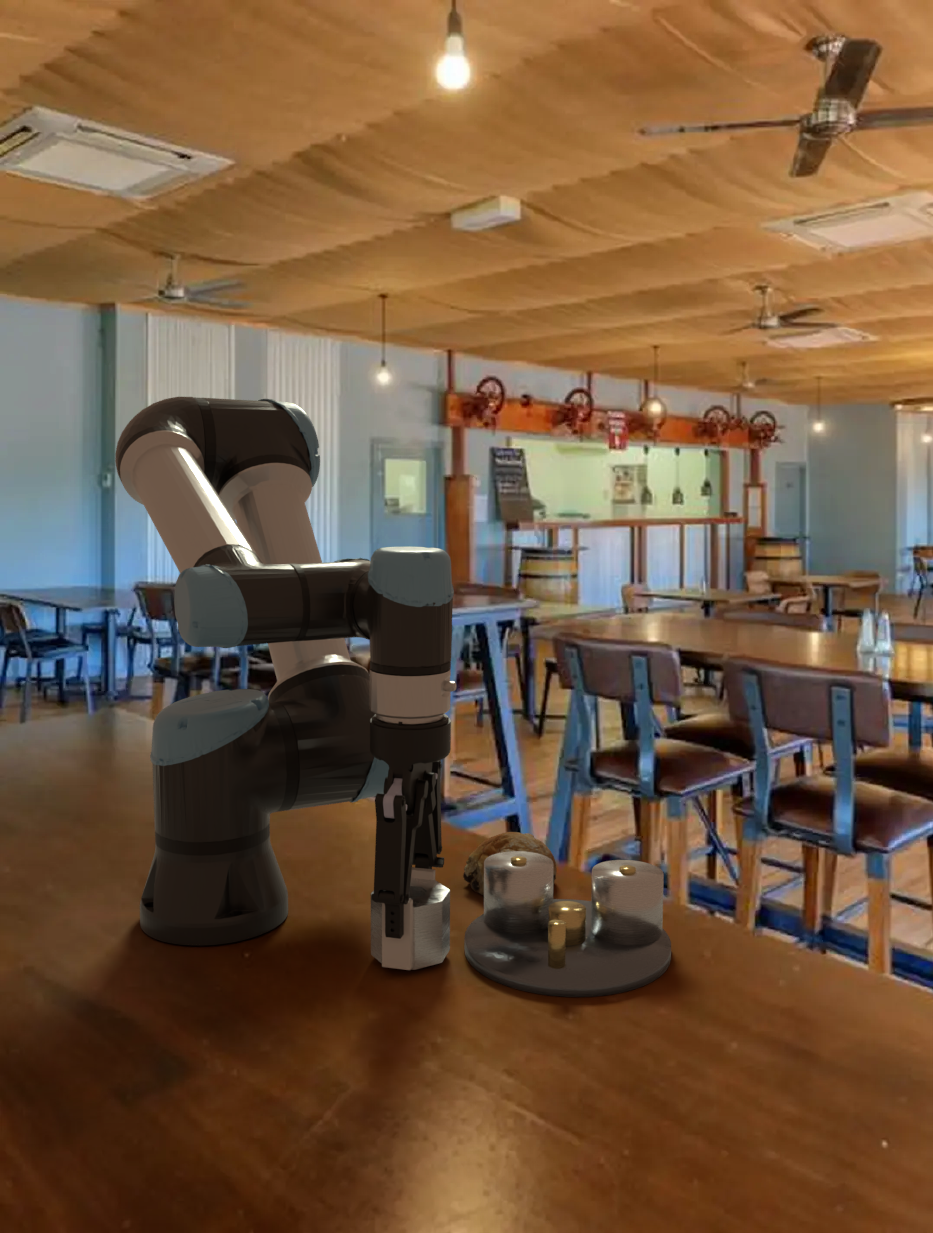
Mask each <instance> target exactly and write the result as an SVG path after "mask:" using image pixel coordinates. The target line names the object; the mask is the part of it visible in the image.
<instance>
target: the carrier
mask: <svg viewBox="0 0 933 1233" xmlns="http://www.w3.org/2000/svg"><path fill="white" fill-rule="evenodd" d="M664 876H665V875H664V871H663V870H662V869H661V868H660V867H659V866H656V865H654V864H652V863H649V862H645V861H639V860H632V859H613V860H606V861H602V862H599V863H597V864H595V865H594V866H593V867H592V868H591V890H590V891H591V895H590V896H591V900H586V899H585V900H584V899H583V900H582V899H572V898H571V899H570V898H569V899H567V898H554V885H553V861H552V860H551V859H550V858H548V857H547V856H544V855H541V854H538V853H533V852H525V851H510V852H502V853H497V854H494V855H491V856H489V857H487V858H486V859H485V861H484V895H483V914H480V915H479V916H477V917H476V918H475V919H474V920H472V921H471V922H470V924H469V925H467V928H466V930H465V933H464V955H465V958H466V959H467V961H468V962H469V964H470V965H471V967H472V968H474V969H475V970H476V971H477V972H478V973H480V974H481V975H483V976H484V977H486V978H487V979H489V980H492V981H493V982H496V983H498V984H499V985H503V986H506V987H508V988H511V989H515V990H518V991H523V992H528V993H532V994H537V995H542V996H543V995H545V996H552V997H563V998H564V997H565V998H590V997H591V998H592V997H602V996H610V995H615V994H622V993H626V992H630V991H633V990H636V989H639V988H641V987H645V986H647V985H648V984H651V983H653V982H655V981H656V980H657V979H659V978H660V977H661V976H663V974H665V973H666V971H667V970H668V968H669V966H670V964H671V961H672V941H671V938H670V936H669V935H668V933H667V932H666V930H665V929H664V928H663V921H664V920H663V917H664V909H663V908H664Z"/></svg>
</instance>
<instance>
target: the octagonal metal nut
mask: <svg viewBox="0 0 933 1233" xmlns="http://www.w3.org/2000/svg"><path fill="white" fill-rule="evenodd" d="M372 894H374V890H373V891H372V892H371V893H370V955H371V956H372V957H373V958H375V959H376V960H377V961H378V962H379V963H380V964H382V903H377V902H374V901H373V900H372ZM409 896H410V897H409V899H413V941H412V968H411V970H414V971H415V970H419V969H423V968H427V967H430V966H434V965H438V964H442V963H443V962H444V960H445V958H446V957H447V955H448V954H449V952H450V950H451V889H449V888H448V887H447V886H445V885H443V884H442V883H440V882H439V881H437V880H436V879H435V880H429V879H419V878H411V882H410V892H409Z"/></svg>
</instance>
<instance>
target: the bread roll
mask: <svg viewBox="0 0 933 1233" xmlns="http://www.w3.org/2000/svg"><path fill="white" fill-rule="evenodd" d="M510 851H525V852H533V853H538V854H541V855H544V856H547V857H548V858H550V859H551V860H552V861H553V886H554V885H555V881H556V879H557V864H556V859H555V856H554V854H553V853H552V851H551V850H550V848H549V847H548V846H547V845H546V844H545V843H544V842H543V841H542V840H540V839H537V838H535V837H534V835H533V834H531V833H530V832H527V833H526V832H525V833H522V832H517V831H507V832H502V833H499V834H496V835H494V836H491V837H488V838H486V839H484V841H482V842H481V843H480V844H479V845H477V848H475V849H474V850H473V851H472V852H471V853H470V854H469V855H468V858H467V860H466V861H465V862H466V865H465V866H464V868H463V870H464V872H463V875H462V878H463V880H464V881H465V882H467V883H469V884H470V888H471V890H473V891H474V892H475V893H478V894H479V895H481V896H484V861H485V859H486V858H487V857H489V856H491V855H494V854H497V853H502V852H510Z"/></svg>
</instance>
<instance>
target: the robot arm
mask: <svg viewBox="0 0 933 1233" xmlns="http://www.w3.org/2000/svg"><path fill="white" fill-rule="evenodd" d="M319 448H320V444H319V439H318V435H317V431H316V429H315V426H314V424H313V421H312V420H311V418H310V417H309V415H308V413H306V411H305V410H304V409H303V408H302V407H300V406H299V405H297V404H295V403H293V402H290V401H288V402H287V401H280V400H279V401H278V400H275V399H272V398H260V399H259V400H251V399H250V400H249V399H248V400H247V399H232V398H229V399H228V398H216V397H215V398H214V397H213V398H212V397H193V396H175V397H170V398H168V397H167V398H164V399H162V400H159V401H155V402H153V403H152V404H150V405H148V406H146V407H144V408H143V409H141V410H140V411H139V412H138V413H136V414H135V415H134V416H133V418H131V420H129V422H128V423H127V424H126V426H125V427H124V428H123V430H122V432H121V434H120V436H119V438H118V441H117V442H116V450H115V454H114V455H115V457H114V458H115V460H114V461H115V466H116V473H117V475H118V478H119V480H120V482H121V485H122V486H123V488H124V490H125V491H126V492H127V494H128V495H129V497H131V499H133V500H134V501H135V502H138V504H140V505H143V506H144V507H145V508H144V509H145V510H146V513H147V514H148V516H149V518H150V519H151V522H152V523H153V525H154V527H155V529H156V531H157V532H158V534H159V537H160V538H161V540H162V542H163V544H164V546H165V547H166V549H167V551H168V554H169V555H170V556H171V559H172V561H173V563H174V565H175V566H176V569H177V571H178V572H179V575H178V576H177V579H176V582H175V585H174V596H173V597H174V600H173V601H174V604H173V605H174V615H175V619H176V621H177V630H178V632H179V634H180V637H181V639H182V640H183V641H184V643H186V644H187V645H189V646H191V647H194V648H221V649H230V648H236V647H240V646H241V647H243V646H253V645H266V644H267V646H268V649H269V654H270V658H271V661H272V666H273V670H274V674H275V676H276V677H275V678H276V682H275V684H274V685H273V687H272V688H271V690H270V691H269V693H268V695H266V694H265V693H264V692H263V691H261V690H258V689H253V688H251V689H250V688H236V689H232V690H230V689H222V690H215V691H209V692H205V693H201V694H195V695H193V696H189V697H185V698H182V699H180V700H177V701H175V702H173V703H171V704H169V705H167V706H166V707H164V708H162V709H161V711H159V713H157V715H156V716H155V719H154V721H153V723H152V734H151V735H152V736H151V751H150V755H149V756H150V758H149V759H150V761H151V763H152V782H153V783H152V785H153V789H152V790H153V791H152V792H153V812H154V814H153V816H154V819H153V820H154V836H155V837H154V841H155V842H154V843H155V844H154V845H155V847H154V848H155V850H154V854H153V858H152V861H151V865H150V867H149V871H148V873H147V874H148V875H147V878H146V882H145V885H144V887H143V891H142V894H141V897H140V901H139V902H140V903H139V924H140V928H141V930H142V932H144V933H145V934H146V935H147V936H149V937H151V938H152V939H154V940H158V941H160V942H164V943H169V944H174V945H179V946H180V945H182V946H215V945H225V944H231V943H236V942H241V941H245V940H249V939H253V938H255V937H258V936H261V935H263V934H265V933H268V932H270V931H272V930H274V929H275V928H277V927H279V926H280V925H281V924H282V923H283V922H284V921H285V920H286V919H287V917H288V914H289V892H288V887H287V885H286V883H285V879H284V877H283V874H282V870H281V869H280V865H279V863H278V860H277V857H276V855H275V852H274V849H273V846H272V843H271V835H270V834H271V832H270V831H271V830H270V827H271V826H270V825H271V824H270V818H271V814H272V813H278V812H285V811H291V810H292V811H294V810H300V809H306V808H308V809H309V808H314V807H321V806H327V805H335V804H341V803H348V802H349V803H352V804H353V803H356V802H358V801H360V800H363V799H368V798H369V799H370V798H373V797H375V798H374V809H375V819H376V822H375V823H376V824H375V827H376V828H375V845H374V848H375V850H374V852H375V853H374V870H373V871H374V873H373V874H374V875H373V876H374V877H373V891H374V894H372V900H373V901H374V902H377V903H382V963H381V968H387V969H388V968H389V969H397V970H406V971H411V970H412V969H411V968H412V941H413V899H409V897H410V896H409V892H410V882H411V878H419V879H429V880H436V869H433V868H440V869H442V868H443V867H444V865H445V857H444V856H443V857H441V856H438V855H441V853H442V851H443V846H442V845H443V844H442V841H443V840H442V839H443V838H442V810H441V808H442V806H441V804H442V803H441V801H442V800H441V772H442V766H443V764H442V760H444V759H445V758H447V757H448V756H449V754H450V752H451V749H452V748H451V747H452V746H451V744H452V742H451V739H452V734H451V733H452V731H451V730H452V729H451V728H452V721H451V718H450V717H449V716H448V715H447V713H448V712H449V711H450V710H451V696H452V695H451V692H455V691H456V690H457V683H456V681H454V680H451V676H452V675H451V672H452V670H451V668H452V666H451V665H452V663H451V661H452V647H453V646H452V645H453V644H452V640H453V636H452V635H453V602H454V601H453V600H454V598H453V597H454V594H455V591H454V590H455V589H454V585H453V581H452V559H451V556H450V555H449V553H448V552H447V551H446V550H444V549H442V548H437V547H424V546H387V547H379V548H377V549H376V550H374V551H373V553H372V555H371V556H370V559H368V558H363V557H362V558H361V557H359V558H341V559H337V560H334V561H332V562H331V561H329V562H323V560H322V558H321V554H320V551H319V547H318V544H317V540H316V537H315V532H314V530H313V526H312V523H311V519H310V516H309V512H308V510H307V505H306V502H307V500H308V499H309V497H310V496H311V494H312V490H313V487H314V486H315V485H316V482H317V481H318V477H319V473H320V468H321V467H320V466H321V457H320V453H319V451H318V449H319ZM353 638H362V639H365V640H368V641H369V656H370V657H369V660H370V661H369V671H368V669H367V668H366V667H365V666H363V665H361V664H359V663H356V662H355V661H353V660H351V657H350V654H349V648H348V647H347V644H346V643H347V642H346V640H345V639H353ZM267 696H268V697H267Z"/></svg>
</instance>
